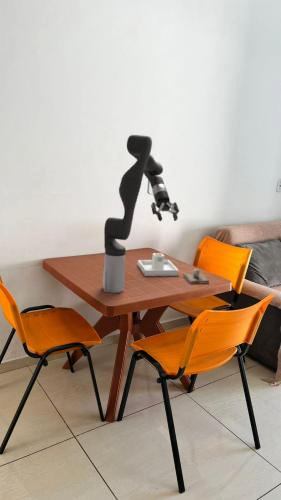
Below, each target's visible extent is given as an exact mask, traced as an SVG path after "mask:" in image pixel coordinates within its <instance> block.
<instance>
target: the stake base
mask: <svg viewBox="0 0 281 500" xmlns="http://www.w3.org/2000/svg"><path fill="white" fill-rule="evenodd" d="M182 277H183V278H184V279H185V281H187V282H188V283H189V284H196V285H197V284H209V283H210V280H209V279H208V278H207V277H206V276H205V275H204V274H202V273H200V268H199V269H198V268H194V269H193V273H183V275H182Z"/></svg>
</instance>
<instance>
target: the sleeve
mask: <svg viewBox="0 0 281 500" xmlns="http://www.w3.org/2000/svg"><path fill="white" fill-rule="evenodd" d="M151 258H152V259H151V260H152V268H153V269H154V270H163V268H164V260H165V255H164V254H163V253H161V252H157V253H155V252H154V253H152V257H151Z"/></svg>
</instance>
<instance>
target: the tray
mask: <svg viewBox="0 0 281 500" xmlns="http://www.w3.org/2000/svg"><path fill="white" fill-rule="evenodd" d="M137 267H138V269H139V270H140V271H141V272H142V274H143V275H144V277H169V276H170V277H174V276H179V275H180V274H179V273H180V270H179V268H177V267H176V265H174V264H173V263H172V261H171V260H169V259H164V268H163V270H154V269H153V268H152V259H138V260H137Z"/></svg>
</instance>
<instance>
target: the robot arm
mask: <svg viewBox="0 0 281 500" xmlns="http://www.w3.org/2000/svg"><path fill="white" fill-rule="evenodd" d="M152 147H153V139H152V137H151V136H149V135H141V134H131V135H129V136H128V138H127V140H126V149H127V152H128V154H129V155H131V156H132V157H134V159H135V160H136V161H135V163H133V165H132V166H131V167H129V169H127V171H125V172H124V173H123V175H122V177H121V179H120V183H119V186H118V194H119V197H120V199H121V202H122V206H123V209H124V210H123V211H124V212H123V218H120V217H119V218H118V217H108V218H107V219H105V223H104V230H103V231H104V232H103V233H104V235H103V237H104V240H103V241H104V245H103V246H104V265H103V266H104V267H103V270H102V271H103V273H102V289H103V291H104V293H112V294H116V293H117V294H118V293H121V292H123V291H124V290H125V272H126V271H125V270H126V269H125V267H126V253H127V251H126V247H125V246H123V245H122V244H121V243H119V242H118V241H117V240H119V241H121V240H122V241H127V240H128V239H129V237H130V234H131V230H132V225H133V221H134V220H133V219H134V214H135V208H136V205H137V201H138V197H139V193H140V189H141V186H142V181H143V179H144V176H145V178H146V179H147V180H148V182H149V184H150V187H151V190H152V195H153V197H154V201H152V203H151V205H150V208H151V212H152V214H153V215H156V216H157V219H158V221H159V222H162V220H163V215H162V213H161V212H168V213H169V214H171V215H172V218H173V221H174V222H176V221H178V219H179V217H178V213H179V212H180V208H179V206H178V204H177V202H176V201H175V202H171V200H170V199H171V198H170V196H169V192H168V190H167V187H166V186H165V181H164V179H163V177H162V176H160V175H162V174H163V172H164V167H163V165H162V164H161V162H159V160H157V159H155V158H154V156H153V155H152V154H151V152H152V151H151V150H152ZM157 208H158V210H157Z"/></svg>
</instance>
